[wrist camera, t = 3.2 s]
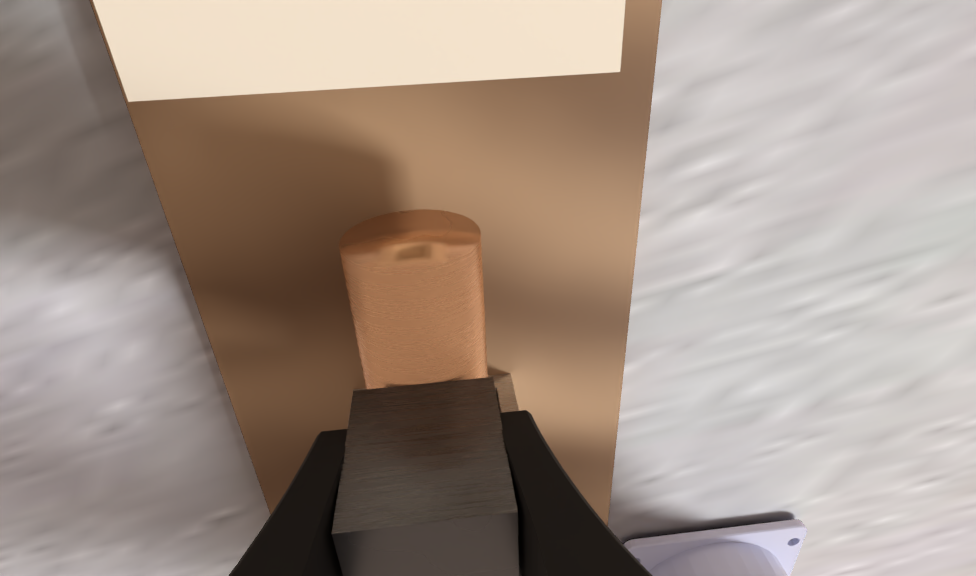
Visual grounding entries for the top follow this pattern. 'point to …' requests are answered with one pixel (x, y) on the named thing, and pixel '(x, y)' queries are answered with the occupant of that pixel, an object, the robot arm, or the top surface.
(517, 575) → the brown piece
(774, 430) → the top surface
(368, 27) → the cream rectangular block
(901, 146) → the top surface
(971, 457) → the top surface
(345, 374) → the walnut board
